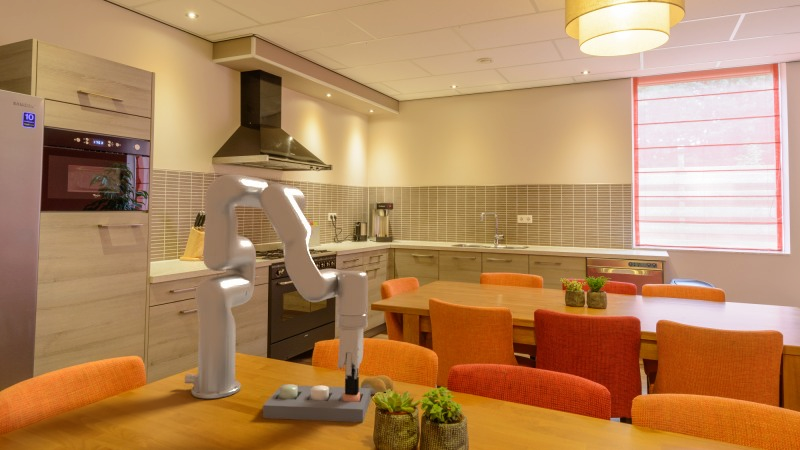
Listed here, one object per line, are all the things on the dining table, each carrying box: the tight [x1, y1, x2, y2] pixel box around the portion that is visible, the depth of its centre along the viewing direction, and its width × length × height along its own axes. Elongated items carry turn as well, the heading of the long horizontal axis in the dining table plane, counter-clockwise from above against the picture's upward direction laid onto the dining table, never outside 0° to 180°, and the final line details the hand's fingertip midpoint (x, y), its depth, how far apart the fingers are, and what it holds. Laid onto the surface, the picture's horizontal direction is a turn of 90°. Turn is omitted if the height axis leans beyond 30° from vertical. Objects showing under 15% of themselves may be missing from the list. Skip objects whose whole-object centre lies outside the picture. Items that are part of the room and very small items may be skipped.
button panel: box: [262, 384, 372, 423], centre depth 117 cm, size 24×14×3 cm, turn 86°
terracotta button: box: [342, 392, 360, 402], centre depth 116 cm, size 4×4×4 cm
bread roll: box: [360, 374, 394, 395], centre depth 131 cm, size 8×9×4 cm
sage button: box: [279, 383, 299, 400], centre depth 117 cm, size 4×4×4 cm
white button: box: [311, 384, 330, 401], centre depth 117 cm, size 4×4×4 cm
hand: (351, 393), depth 116 cm, fingers closed
